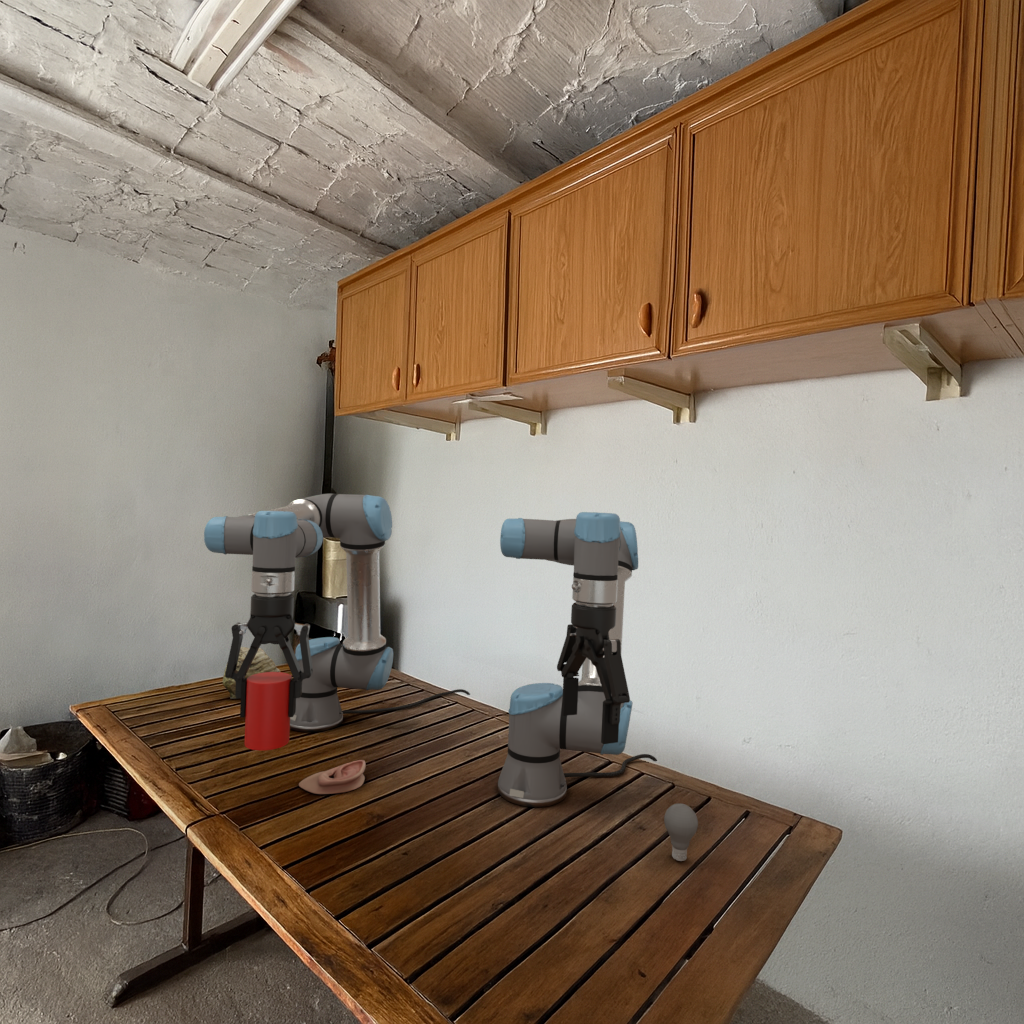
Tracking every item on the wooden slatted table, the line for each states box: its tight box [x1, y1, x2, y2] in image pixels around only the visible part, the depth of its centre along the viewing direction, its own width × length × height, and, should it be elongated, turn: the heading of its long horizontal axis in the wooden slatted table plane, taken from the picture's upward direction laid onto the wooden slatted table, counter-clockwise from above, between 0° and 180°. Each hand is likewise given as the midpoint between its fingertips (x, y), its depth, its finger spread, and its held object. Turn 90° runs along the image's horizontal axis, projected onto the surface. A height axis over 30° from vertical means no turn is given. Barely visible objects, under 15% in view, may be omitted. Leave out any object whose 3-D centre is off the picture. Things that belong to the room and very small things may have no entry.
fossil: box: [222, 646, 281, 699], centre depth 198 cm, size 9×18×15 cm, turn 132°
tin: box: [243, 671, 293, 752], centre depth 118 cm, size 8×8×12 cm
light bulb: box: [663, 802, 699, 862], centre depth 116 cm, size 6×6×10 cm
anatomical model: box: [298, 759, 367, 795], centre depth 140 cm, size 13×4×12 cm
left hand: (268, 714), depth 118 cm, fingers closed on tin, 8 cm apart
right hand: (588, 727), depth 108 cm, fingers open, 13 cm apart
